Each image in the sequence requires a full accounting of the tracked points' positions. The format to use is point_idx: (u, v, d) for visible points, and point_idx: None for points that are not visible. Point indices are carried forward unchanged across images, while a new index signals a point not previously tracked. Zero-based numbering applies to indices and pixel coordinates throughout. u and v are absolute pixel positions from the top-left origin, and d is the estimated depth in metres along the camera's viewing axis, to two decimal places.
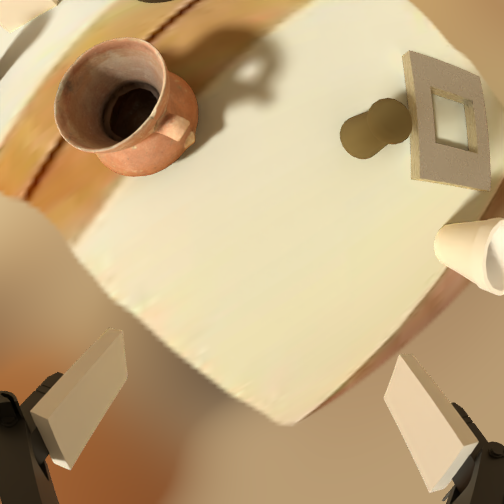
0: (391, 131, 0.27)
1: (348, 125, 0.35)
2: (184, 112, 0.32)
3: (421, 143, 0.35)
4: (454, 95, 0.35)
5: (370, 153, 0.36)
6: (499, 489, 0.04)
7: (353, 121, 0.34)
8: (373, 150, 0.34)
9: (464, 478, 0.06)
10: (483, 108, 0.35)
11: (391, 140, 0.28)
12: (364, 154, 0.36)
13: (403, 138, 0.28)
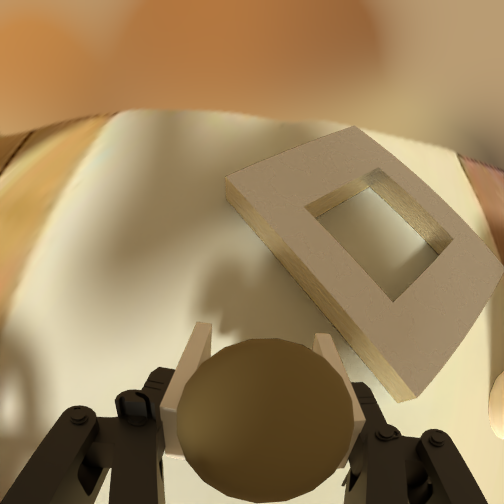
0: (285, 483, 0.06)
1: None
2: None
3: (371, 332, 0.17)
4: (350, 185, 0.24)
5: None
6: (399, 474, 0.06)
7: None
8: None
9: (357, 463, 0.08)
10: (399, 162, 0.25)
11: (309, 490, 0.06)
12: None
13: (343, 453, 0.07)
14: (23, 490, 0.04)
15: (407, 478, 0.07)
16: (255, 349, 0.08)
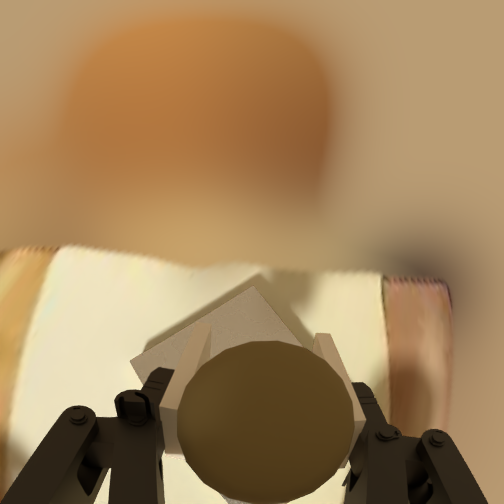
0: (286, 485, 0.06)
1: None
2: None
3: None
4: None
5: None
6: (399, 474, 0.06)
7: None
8: None
9: (357, 463, 0.08)
10: (287, 331, 0.30)
11: None
12: None
13: (343, 456, 0.07)
14: (23, 490, 0.04)
15: (408, 478, 0.07)
16: (256, 351, 0.08)
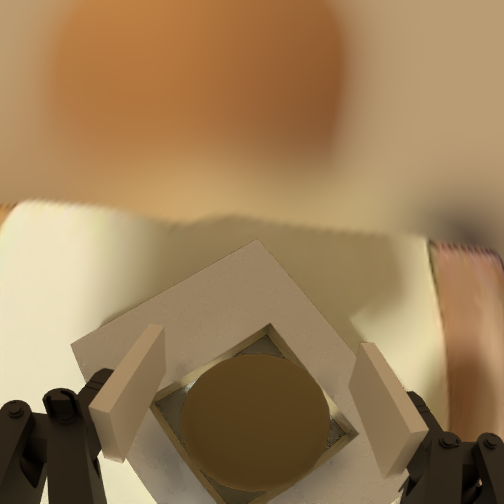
0: (270, 474, 0.07)
1: None
2: None
3: None
4: (221, 356, 0.18)
5: None
6: (456, 480, 0.05)
7: None
8: None
9: (417, 469, 0.07)
10: (309, 306, 0.19)
11: (291, 482, 0.08)
12: None
13: (320, 452, 0.08)
14: None
15: (463, 481, 0.06)
16: (246, 363, 0.09)
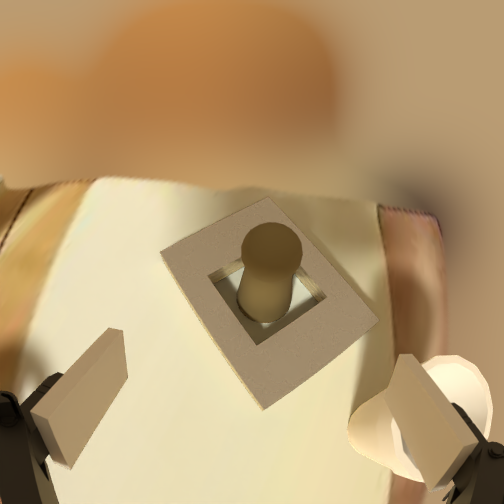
0: (278, 260, 0.24)
1: (240, 295, 0.31)
2: None
3: (236, 364, 0.27)
4: None
5: (283, 305, 0.31)
6: (499, 489, 0.04)
7: (241, 286, 0.31)
8: (283, 299, 0.30)
9: (464, 478, 0.06)
10: (297, 230, 0.36)
11: (287, 270, 0.24)
12: (278, 311, 0.31)
13: (298, 257, 0.25)
14: None
15: None
16: (268, 223, 0.26)
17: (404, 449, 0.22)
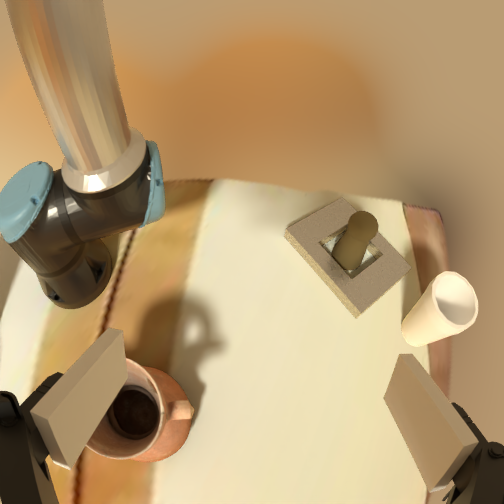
0: (370, 229, 0.46)
1: (338, 253, 0.53)
2: (173, 393, 0.37)
3: (343, 289, 0.49)
4: (337, 231, 0.56)
5: (362, 258, 0.53)
6: (499, 489, 0.04)
7: (339, 247, 0.53)
8: (363, 253, 0.52)
9: (464, 478, 0.06)
10: None
11: (373, 234, 0.46)
12: (359, 262, 0.53)
13: (377, 228, 0.47)
14: None
15: None
16: (361, 211, 0.48)
17: None
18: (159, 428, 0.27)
